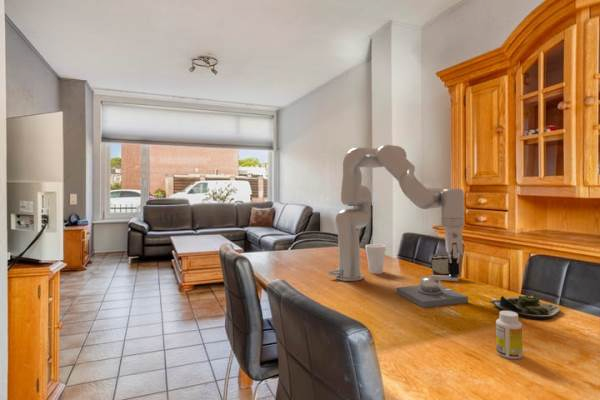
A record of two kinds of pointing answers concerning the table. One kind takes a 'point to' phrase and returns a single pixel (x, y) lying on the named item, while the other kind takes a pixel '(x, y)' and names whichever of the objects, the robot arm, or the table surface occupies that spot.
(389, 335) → the table surface
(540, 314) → the salad plate
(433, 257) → the food container
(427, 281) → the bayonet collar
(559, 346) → the table surface
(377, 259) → the foam cup
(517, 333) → the supplement bottle
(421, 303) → the post base
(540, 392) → the table surface
